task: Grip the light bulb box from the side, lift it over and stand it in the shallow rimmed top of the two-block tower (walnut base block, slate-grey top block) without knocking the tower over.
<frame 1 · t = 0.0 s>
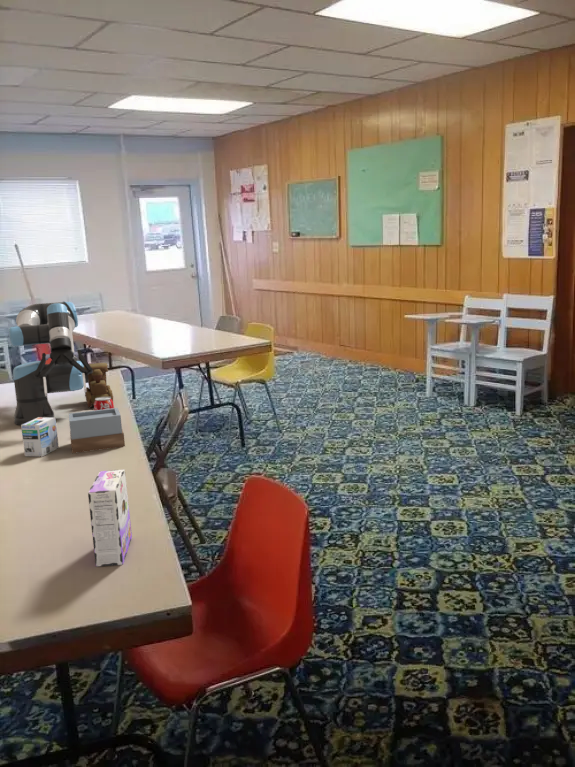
hand: (65, 392, 250), 15 cm above the table, tool tilted 35°, fingers open, 13 cm apart
tower base block: (98, 446, 236), on the table
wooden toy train: (99, 404, 302), on the table
tower top block: (96, 432, 235), point 4 cm above the table
soda can: (106, 430, 255), on the table
light bulb box: (42, 452, 230), on the table
candy box: (114, 553, 149), on the table
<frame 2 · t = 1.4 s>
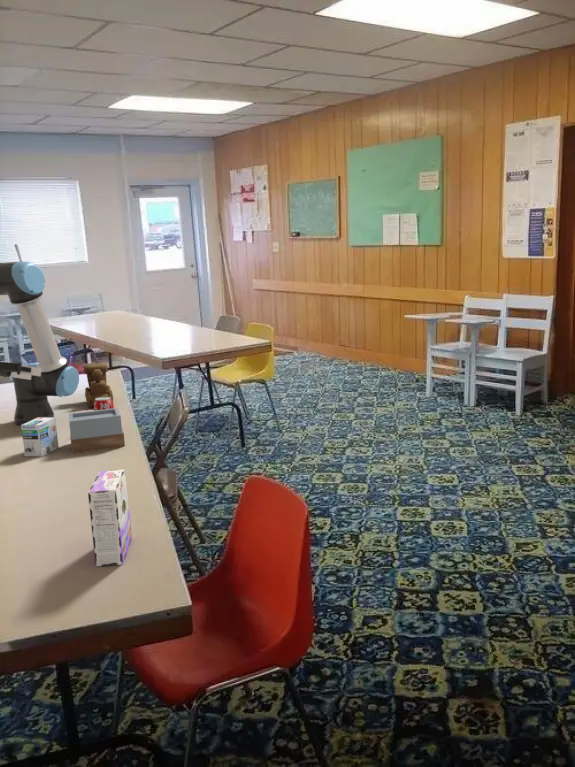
hand: (36, 374, 232), 25 cm above the table, tool tilted 75°, fingers open, 13 cm apart
tower base block: (98, 446, 236), on the table, touching tower top block
tower top block: (96, 432, 234), point 4 cm above the table, touching tower base block
everything else where it was.
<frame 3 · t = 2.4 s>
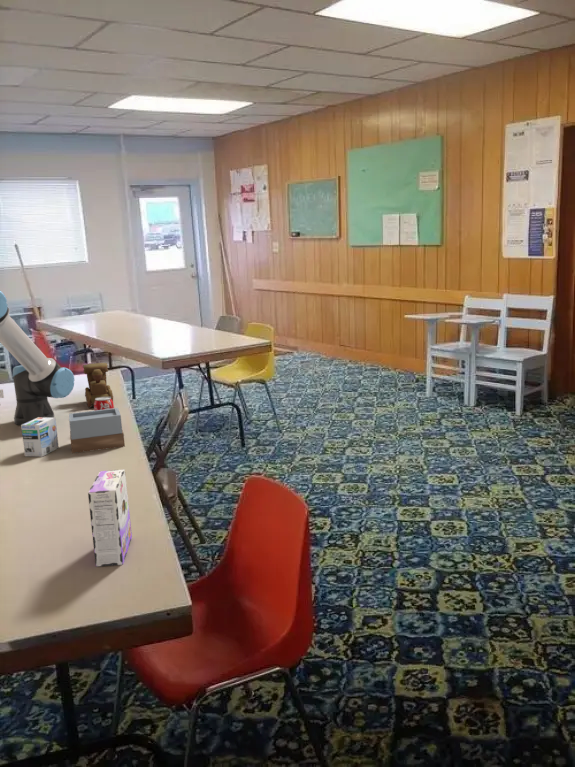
hand: (1, 397, 223), 20 cm above the table, tool horizontal, fingers open, 13 cm apart
nothing on the table moved.
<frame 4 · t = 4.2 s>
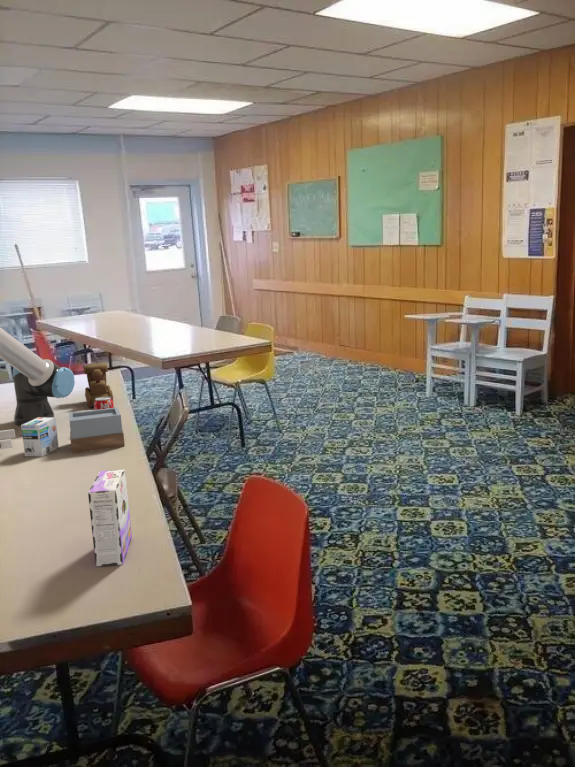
hand: (13, 438, 226), 6 cm above the table, tool horizontal, fingers open, 13 cm apart
tower base block: (97, 446, 236), on the table
tower top block: (96, 431, 235), point 5 cm above the table
everything else where it was.
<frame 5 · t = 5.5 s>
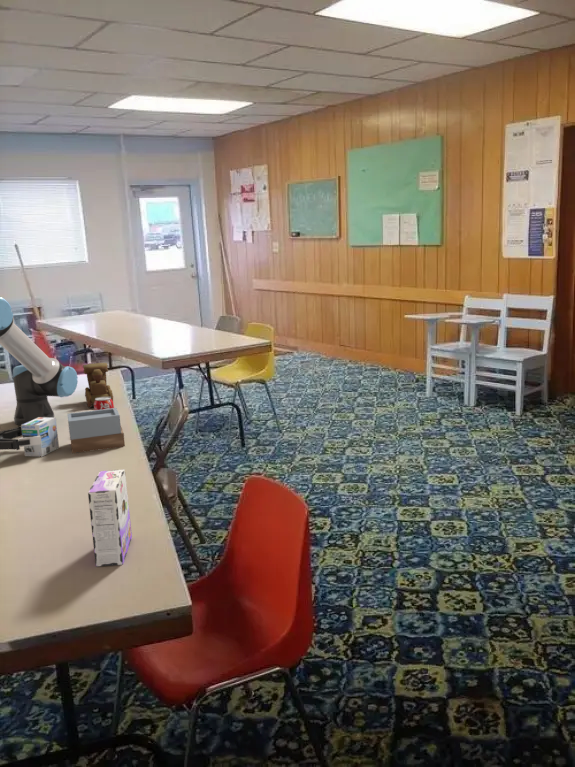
hand: (41, 434, 229), 6 cm above the table, tool horizontal, fingers open, 13 cm apart
nothing on the table moved.
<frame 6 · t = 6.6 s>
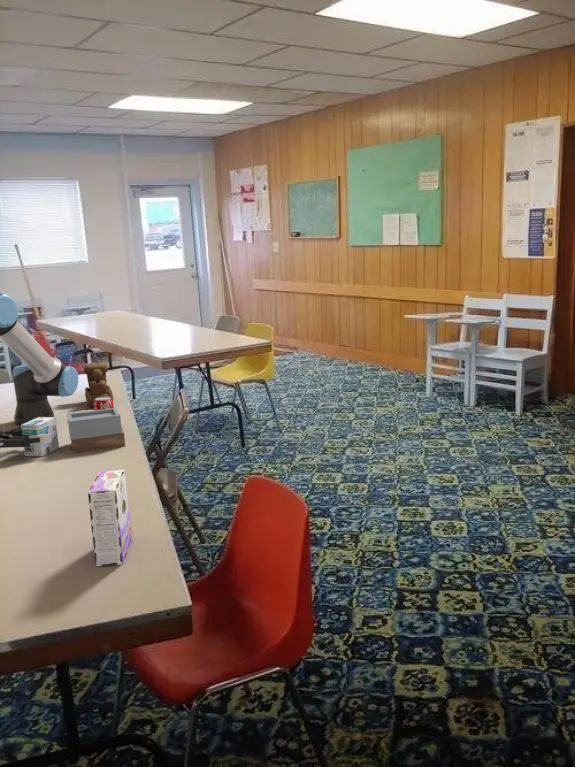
hand: (51, 433, 230), 6 cm above the table, tool horizontal, fingers closed on light bulb box, 12 cm apart
light bulb box: (42, 452, 230), on the table, touching gripper
everything else where it was.
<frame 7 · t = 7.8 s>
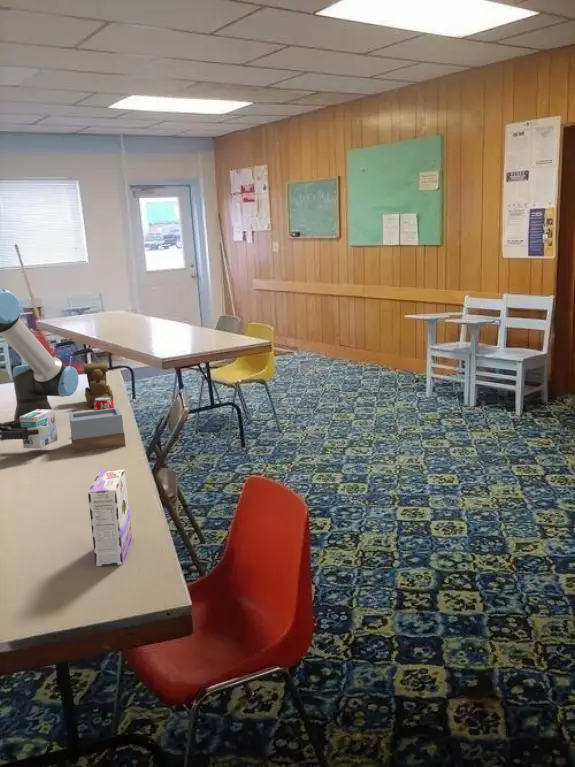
hand: (49, 425, 229), 9 cm above the table, tool horizontal, fingers closed on light bulb box, 12 cm apart
light bulb box: (41, 444, 230), point 3 cm above the table, touching gripper
everything else where it was.
when the fingers open (17 cm above the table, at t = 13.6 s): light bulb box stays where it is, resting on tower top block.
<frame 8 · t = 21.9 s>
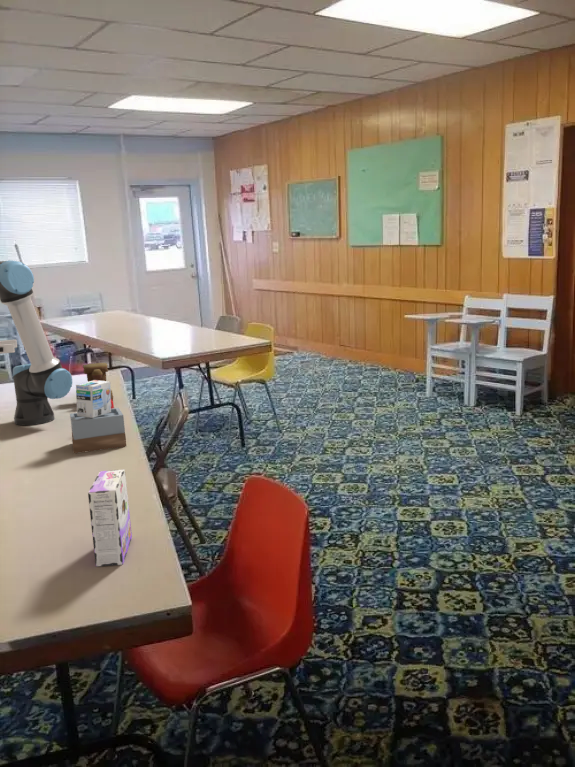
hand: (15, 345, 232), 35 cm above the table, tool horizontal, fingers open, 13 cm apart
tower base block: (99, 446, 235), on the table, touching tower top block
tower top block: (98, 432, 234), point 5 cm above the table, touching light bulb box, tower base block
light bulb box: (94, 414, 233), point 11 cm above the table, touching tower top block
everything else where it was.
at the end: light bulb box 0.6 cm off-centre on the tower top block, point 6.1 cm above the tower top block's base; light bulb box tilted 5°; tower base block moved 0.8 cm from its start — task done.
